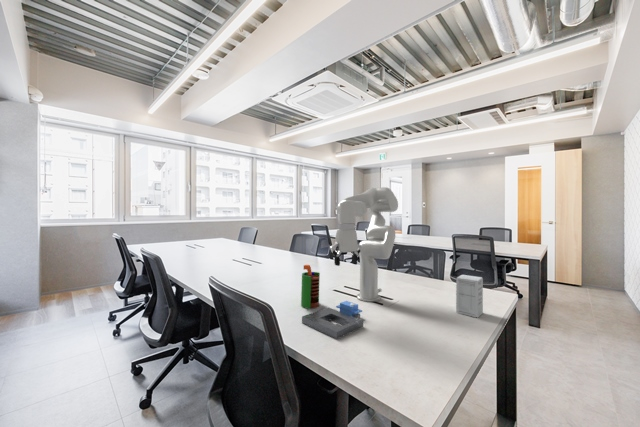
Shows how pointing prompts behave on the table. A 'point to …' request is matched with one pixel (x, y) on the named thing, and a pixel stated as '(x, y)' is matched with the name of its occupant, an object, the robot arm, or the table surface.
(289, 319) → the table surface
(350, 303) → the servo
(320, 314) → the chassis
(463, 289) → the supplement box
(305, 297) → the motor
